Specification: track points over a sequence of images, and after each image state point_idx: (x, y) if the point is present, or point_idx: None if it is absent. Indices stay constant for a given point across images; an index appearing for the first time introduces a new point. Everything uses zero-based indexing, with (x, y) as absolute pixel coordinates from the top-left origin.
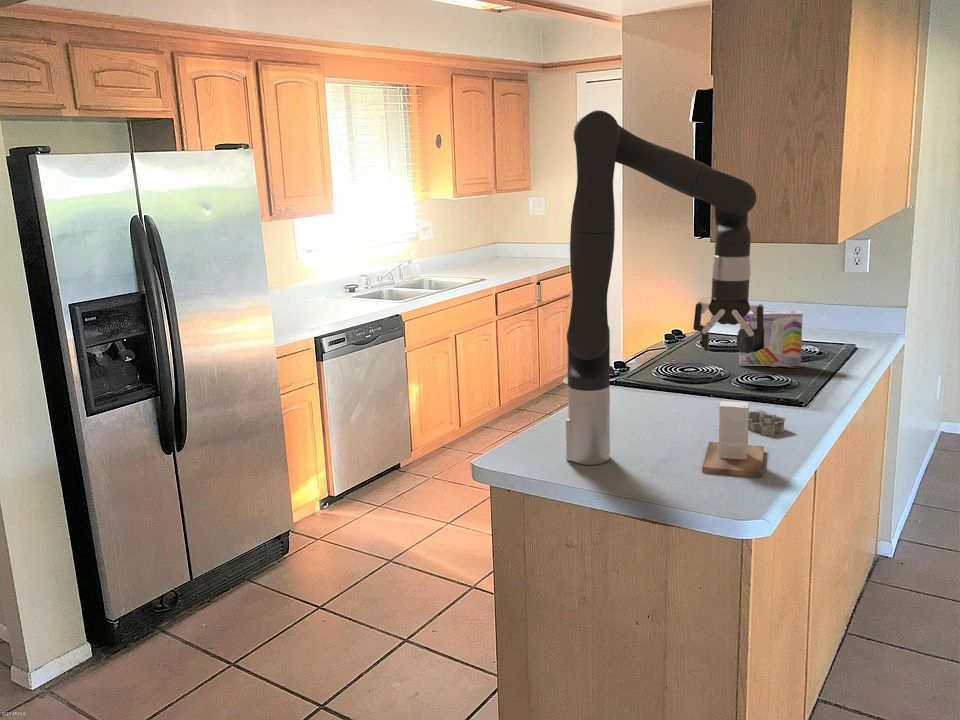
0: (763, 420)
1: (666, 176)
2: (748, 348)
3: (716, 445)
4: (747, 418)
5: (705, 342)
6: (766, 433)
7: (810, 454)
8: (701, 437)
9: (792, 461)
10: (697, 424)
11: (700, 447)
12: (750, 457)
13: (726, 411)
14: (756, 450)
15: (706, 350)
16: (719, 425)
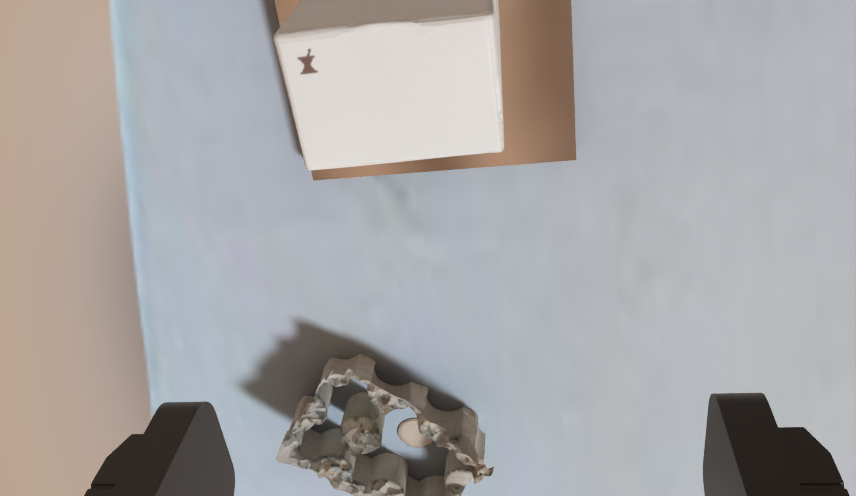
0: (371, 431)
1: None
2: (148, 442)
3: (532, 118)
4: (295, 10)
5: (782, 478)
6: (352, 361)
7: (128, 193)
8: (624, 255)
9: (169, 83)
10: (659, 398)
11: (614, 125)
12: None
13: (440, 5)
14: None
15: (727, 393)
16: None
